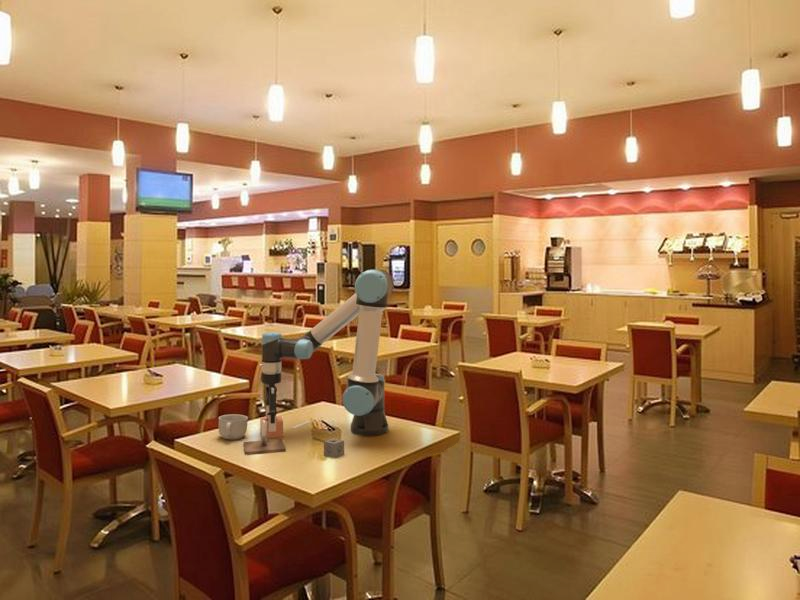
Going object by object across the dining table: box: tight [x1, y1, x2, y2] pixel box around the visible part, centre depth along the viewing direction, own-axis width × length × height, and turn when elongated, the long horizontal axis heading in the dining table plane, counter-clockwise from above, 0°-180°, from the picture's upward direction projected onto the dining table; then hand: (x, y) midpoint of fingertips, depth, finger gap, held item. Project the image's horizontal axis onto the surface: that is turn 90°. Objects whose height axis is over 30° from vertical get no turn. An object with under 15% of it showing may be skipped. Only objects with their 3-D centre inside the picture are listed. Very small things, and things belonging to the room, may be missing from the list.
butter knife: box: [291, 420, 311, 429], centre depth 249 cm, size 1×27×3 cm
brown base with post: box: [243, 420, 287, 456], centre depth 210 cm, size 14×12×10 cm
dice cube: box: [323, 437, 345, 459], centre depth 203 cm, size 5×5×5 cm
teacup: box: [218, 413, 249, 441], centre depth 221 cm, size 14×11×8 cm
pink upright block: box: [259, 416, 284, 439], centre depth 227 cm, size 8×8×6 cm
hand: (270, 426), depth 227 cm, fingers open, 13 cm apart
